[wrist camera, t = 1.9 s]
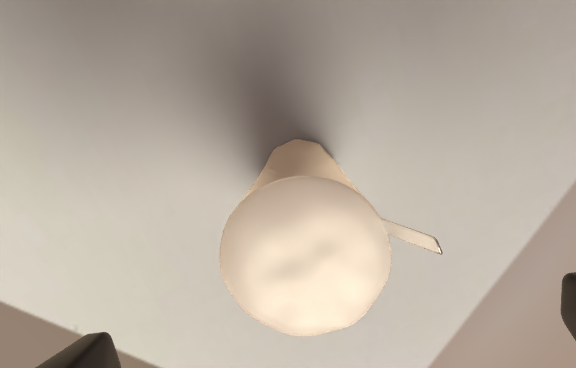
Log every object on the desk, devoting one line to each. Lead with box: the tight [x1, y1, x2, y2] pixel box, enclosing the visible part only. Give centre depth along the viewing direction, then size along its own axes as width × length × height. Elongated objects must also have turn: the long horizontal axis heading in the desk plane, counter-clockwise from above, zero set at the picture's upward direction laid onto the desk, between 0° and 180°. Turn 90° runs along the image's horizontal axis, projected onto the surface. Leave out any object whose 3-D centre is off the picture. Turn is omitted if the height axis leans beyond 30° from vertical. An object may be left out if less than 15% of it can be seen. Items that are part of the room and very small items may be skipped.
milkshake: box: [220, 139, 442, 336], centre depth 14 cm, size 4×5×10 cm
